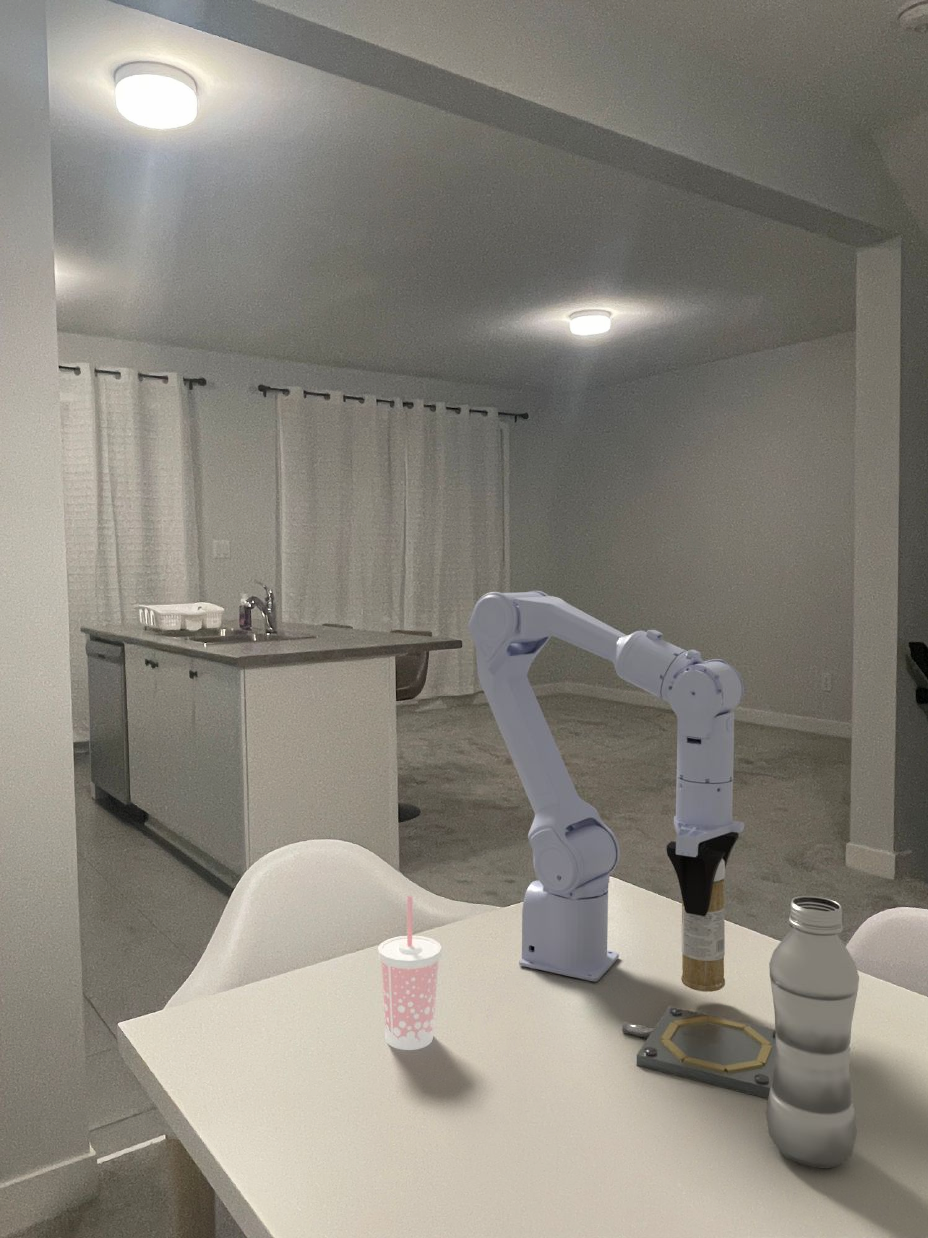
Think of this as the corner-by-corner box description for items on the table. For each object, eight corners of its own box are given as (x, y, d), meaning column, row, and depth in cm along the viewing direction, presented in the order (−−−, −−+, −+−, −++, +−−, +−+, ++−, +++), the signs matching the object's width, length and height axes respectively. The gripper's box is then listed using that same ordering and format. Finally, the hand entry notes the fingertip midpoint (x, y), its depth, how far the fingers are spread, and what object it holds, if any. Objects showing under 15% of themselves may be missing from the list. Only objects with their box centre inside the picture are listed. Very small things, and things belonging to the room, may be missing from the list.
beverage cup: (454, 1037, 94) (454, 896, 93) (408, 1061, 89) (408, 913, 88) (410, 1017, 98) (410, 881, 97) (364, 1038, 93) (364, 896, 92)
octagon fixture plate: (605, 1057, 90) (605, 1045, 90) (640, 1009, 100) (640, 998, 100) (771, 1099, 83) (771, 1086, 83) (791, 1043, 93) (791, 1031, 93)
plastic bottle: (847, 1192, 71) (855, 926, 70) (754, 1161, 75) (761, 908, 73) (862, 1147, 76) (871, 900, 75) (775, 1120, 80) (782, 884, 79)
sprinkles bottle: (698, 972, 104) (697, 849, 104) (734, 985, 101) (733, 858, 100) (671, 984, 101) (670, 857, 101) (708, 998, 98) (707, 866, 97)
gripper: (728, 797, 92) (725, 936, 92) (757, 768, 105) (754, 891, 105) (656, 788, 95) (653, 923, 96) (692, 762, 108) (690, 881, 109)
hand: (702, 906), depth 101 cm, fingers closed on sprinkles bottle, 4 cm apart
